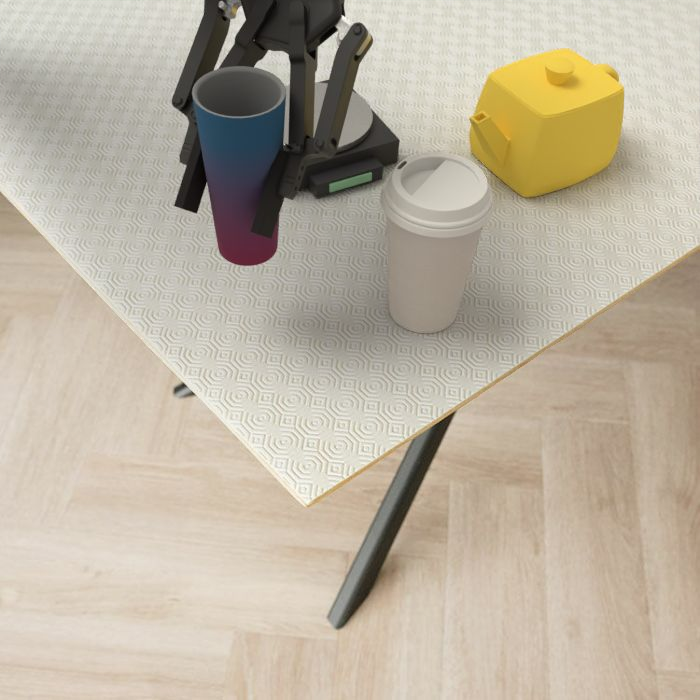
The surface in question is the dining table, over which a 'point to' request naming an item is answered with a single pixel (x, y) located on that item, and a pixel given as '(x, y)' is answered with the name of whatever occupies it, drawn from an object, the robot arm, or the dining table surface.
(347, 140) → the scale pan
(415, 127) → the dining table surface
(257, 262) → the cup
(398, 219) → the coffee cup
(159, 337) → the dining table surface
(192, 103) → the robot arm
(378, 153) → the scale
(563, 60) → the teapot
